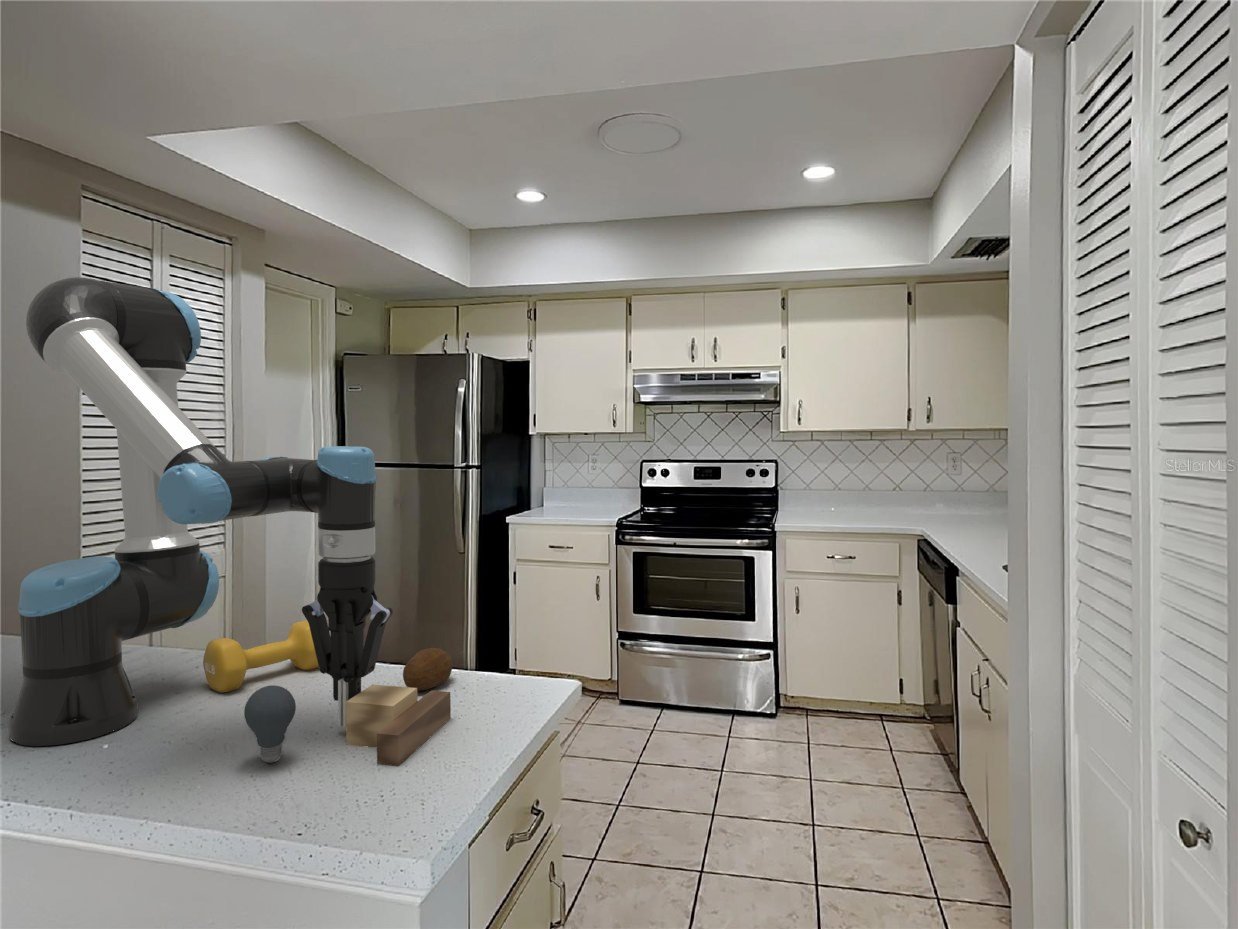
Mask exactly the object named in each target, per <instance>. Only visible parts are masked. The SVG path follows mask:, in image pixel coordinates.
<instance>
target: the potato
mask: <svg viewBox="0 0 1238 929" xmlns="http://www.w3.org/2000/svg"><path fill="white" fill-rule="evenodd" d="M452 670H453V661H452V657H451V656H450V654H449V653H448V652H447V651H445V650H444V649H441V648H437V647H430V648H425V649H421V650H419V651H418V652H416V653H415V654H414V655H413V656H412V657H411V658H410V659H409V660H408V661H407V663H406V664H405V665H404V666H403V670H402V679H403V681H404V682H403V683H404V685H405V687H410V688H417V692H421V691H426V690H429V689H433V688H435V687H437V686H441V685H443V684H445V683H446V682H447V681H448V680H449V678H450V677H451V674H452Z"/></svg>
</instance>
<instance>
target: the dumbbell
mask: <svg viewBox="0 0 1238 929" xmlns="http://www.w3.org/2000/svg"><path fill="white" fill-rule="evenodd" d="M287 660H289V661H290V662H291V664H292V665H293V666H294V667H296V668H298V669H300V670H304V671H311V670H315V669H319V665H318V661H317V657H316V652H315V648H314V644H313V640H312V635H311V631H310V627H309V623H308V621H307V619H305V620H301V621H298V622H295V623H293V624H292V626H290V629H289V631H288V634H287V637H286V640H282V641H276V642H270V643H266V644H263V645H257V646H254V647H251V648H248V649H245V648H244V649H243V647H242V646H241V644H240V643H239V642H238V641H236V640H235V639H231V638H227V637H221V638H216V639H213V640H210V641H209V642H208V643H207V644H206V647H205V651H204V654H203V659H202V666H203V671H204V675H205V679H206V682H207V685H208V686H209V687H210V689H212V690H213V691H216V692H218V693H221V692H225V693H228V691H229V692H232V691H234V690H235V691H236V690H237V689H239V688H240V687H241V686H242V684H243V683H244V680H245V676H246V673H247V671H248V670H251V669H252V670H253V669H259V668H263V667H266V666H270V665H274V664H278V663H282V662H285V661H287Z"/></svg>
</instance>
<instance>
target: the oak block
mask: <svg viewBox="0 0 1238 929" xmlns="http://www.w3.org/2000/svg"><path fill="white" fill-rule="evenodd" d="M417 701H418V691H417V688H410V687H407V686H396V685H384V684H383V685H382V684H374V683H373V684H371V685H369V686H368V687H366V688H365V689H363V690H361V692H360V693H359V694H357V695H356V696H354V697H352V698H351V699H349V700H348V701H346V727H345V729H346V730H345V731H346V733H345V734H346V736H345V737H346V745H347V746H355V747H363V746H368V747H367V748H373V747H377V733H378V732H379V731H380V730H382V729H383V728H384V727H385V726H387V725H388V724H389V723H391V722H392V721H393V720H394V719H396V718H397V717H398V716H399V715H401V714H402V713H403V712H405V711H406V710H407V709H408V708H410V707H411V706H412V705H414V704H415V703H416V702H417Z"/></svg>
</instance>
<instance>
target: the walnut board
mask: <svg viewBox="0 0 1238 929" xmlns="http://www.w3.org/2000/svg"><path fill="white" fill-rule="evenodd" d="M451 706H452V703H451V691H445V690H443V691H442V690H432V689H431V691H429V692H428V693H426V694H425V695H423V697H421V698H420V699H419V700H417V702H416V703H415V704H414V705H412V706H411V707H410V708H408V709H407V710H406V711H405V712H403V713H402V714H401V715H399V716H398V717H397V718H396V719H394V720H393V721H392V722H391V723H389V724H388V725H387V726H385V727H384V728H383V729H382V730H380V731H379V732H378V733H377V748H376V763H377V765H385V766H386V765H387V766H394V767H395V766H396V767H399V766H401V764H402V763H404V762H405V761H406V760H407V759H408V758H409V757H410V756H411V755H412V754H413V753H414V752H416V751H417V750H418V749H419V748H420V747H421V746H422V745H423V744H424V743H425V742H427V741H428V740H429V739H430V738H431V737H432V736H433V735H434V734H435V733H436V732H437V731H439V730H440V729H441V728H442V727H443V726H444V725H445V724H446V723H447V722H448V721H450V720H451V719H452V717H451V716H452V714H451V712H452V711H451V710H452V709H451ZM441 726H442V727H441ZM433 733H434V734H433ZM430 736H431V737H430ZM429 737H430V738H429ZM419 746H420V747H419ZM418 747H419V748H418ZM416 749H417V750H416ZM408 756H409V757H408Z"/></svg>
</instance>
